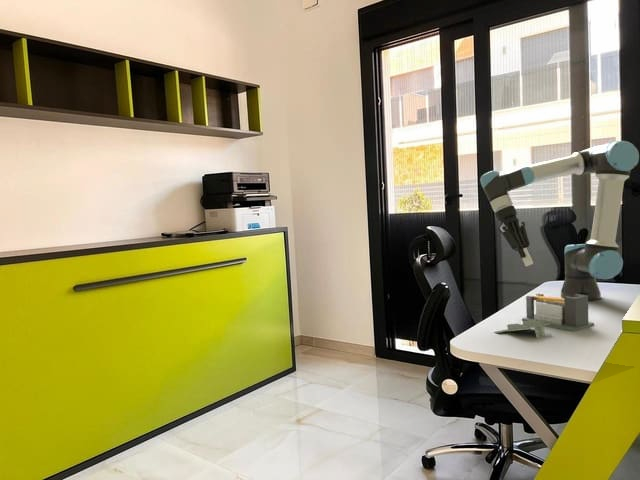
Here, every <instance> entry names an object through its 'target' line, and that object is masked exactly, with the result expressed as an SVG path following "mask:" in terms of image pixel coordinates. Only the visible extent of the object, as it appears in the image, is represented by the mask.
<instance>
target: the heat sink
mask: <svg viewBox="0 0 640 480" xmlns="http://www.w3.org/2000/svg"><path fill="white" fill-rule="evenodd" d="M539 295H541V296H545V295H544V293H535V295H534V296H539ZM534 296H533V295H527V296H525V297H526V298H525V299H526V301H525V302H526V303H525V305H526V306H525V307H526V317H529V318H534V315H535V320H538V321H539V320H540V319H544V322H548V323H552V324H557V325H565V306H564V302H557V301H546V300H534Z"/></svg>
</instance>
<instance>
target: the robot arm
mask: <svg viewBox="0 0 640 480" xmlns="http://www.w3.org/2000/svg"><path fill="white" fill-rule="evenodd" d="M639 160H640V154H639V149H637V147H636V146H635V145H634V144H633V143H631V142H629V141H627V140H619V141H618V140H614V141H612V142H607V143H603V144H597V145H595V146H592V147H589V148H587V149H584V150H581V151H577V152H573V153H572V154H571V155H569V156H565V157H561V158H556V159H552V160H548V161H547V160H546V161H542V162H538V163H534V164H533V163H532V164H529V165H524V166H519V167H516V168H512V169H511V168H510V169H506V170H501V171H498V170H495V169H494V170H491V171H488V172H485V173H484V174H482V175H481V176H480V179H479V181H480V185H481V187H482V189H483V191H484V193H485V195H486V197H487V199H488V202H489V204H490V206H491V208H492V210H493V212H494V215H495V218H496V219H497V221H498V222H499V223H500V225H501V226H500V228H498V231H499V232H500V233H501V235H502V236H503V237H504V238H505V240H506V242H507V243H508V244H509V246H510V247H511V249H512V250H513V251H515V252H518V254H519V257H520V258H521V260H522V262H523V265H524V266H525V267H529V266H531V265H534V261H533V258H532V256H531V253H530V251H529V249H528V247H530V240H529V237H528V234H527V231H526V227H525V226H526V224H525V222H524V221H522V222H521V221H519V218H518V217H517V214H518V212H517V209H516V208H515V206H514V205H513V204H514V203H513V201H512V199H511V196H510V195H509V193H508V192H511V191H514V190H517V189H520V188H523V187H526V186H528V185H530V184H533V183H538V182H542V181H543V182H544V181H546V180H551V179H556V178H559V177H566V176H570V175H574V174H575V175H576V176H580V175H581V176H582V175H586V174H587V175H588V174H595V177H596V178H597V179H598V186H597V190H596V199H595V207H594V212H593V221H592V228H591V234H590V238H589V240H587V241H586V242H585V243H581V244H580V243H579V244H567V245H566V246H565V247H564V282H563V284H562V287H561V290H560V298H564V297H566V296H568V297H574V295H575V294H579V295H586V296H588V301H596V300H600V299H602V298H601V297H602V294H601V291H600V290H601V289H600V288H599V285H598V282H597V280H596V279H599V280H609V279H613V278H614V277H616V276H618V275H619V273H620V272H621V271H622V269H623V265H624V260H623V257H622V256H621V254H620V253H619V249H620V247H619V245H618V244H617V242H616V240H617V232H618V227H619V226H618V225H619V217H620V211H621V207H622V206H621V205H622V199H623V198H622V197H623V192H624V184H625V181H627V179H630V175H631V170H632V169H634V168H635V167H636V166H638V163H639Z"/></svg>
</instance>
